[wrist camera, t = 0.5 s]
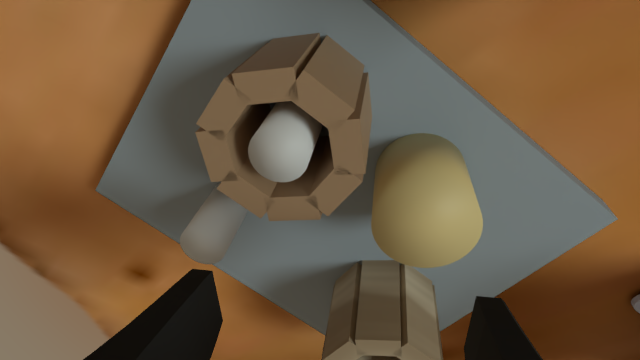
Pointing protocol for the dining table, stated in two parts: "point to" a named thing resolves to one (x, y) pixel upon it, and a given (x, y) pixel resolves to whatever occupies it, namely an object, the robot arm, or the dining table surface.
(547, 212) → the gear board
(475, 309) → the robot arm
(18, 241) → the dining table surface
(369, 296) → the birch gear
